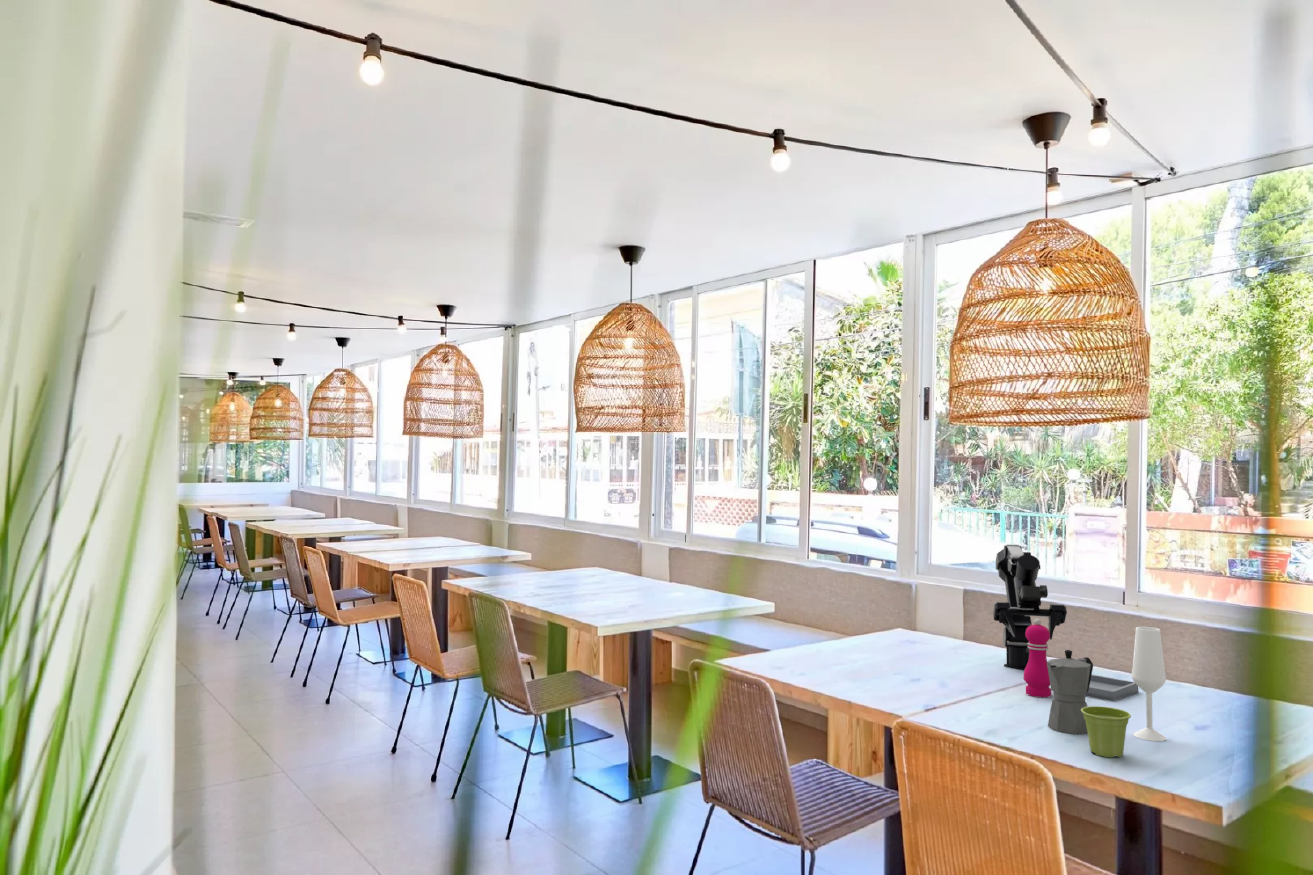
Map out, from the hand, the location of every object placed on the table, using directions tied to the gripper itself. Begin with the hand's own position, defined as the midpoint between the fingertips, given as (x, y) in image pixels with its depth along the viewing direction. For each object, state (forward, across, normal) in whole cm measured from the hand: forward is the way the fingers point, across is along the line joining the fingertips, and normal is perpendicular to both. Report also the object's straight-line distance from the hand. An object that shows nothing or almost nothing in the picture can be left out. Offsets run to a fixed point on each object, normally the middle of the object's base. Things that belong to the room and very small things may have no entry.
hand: (1033, 637), depth 241 cm
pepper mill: (+15, 0, +4) cm, 16 cm away
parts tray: (+9, +16, +10) cm, 21 cm away
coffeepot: (+37, +2, -18) cm, 42 cm away
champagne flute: (+39, +18, -20) cm, 47 cm away
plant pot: (+50, +5, -31) cm, 59 cm away
